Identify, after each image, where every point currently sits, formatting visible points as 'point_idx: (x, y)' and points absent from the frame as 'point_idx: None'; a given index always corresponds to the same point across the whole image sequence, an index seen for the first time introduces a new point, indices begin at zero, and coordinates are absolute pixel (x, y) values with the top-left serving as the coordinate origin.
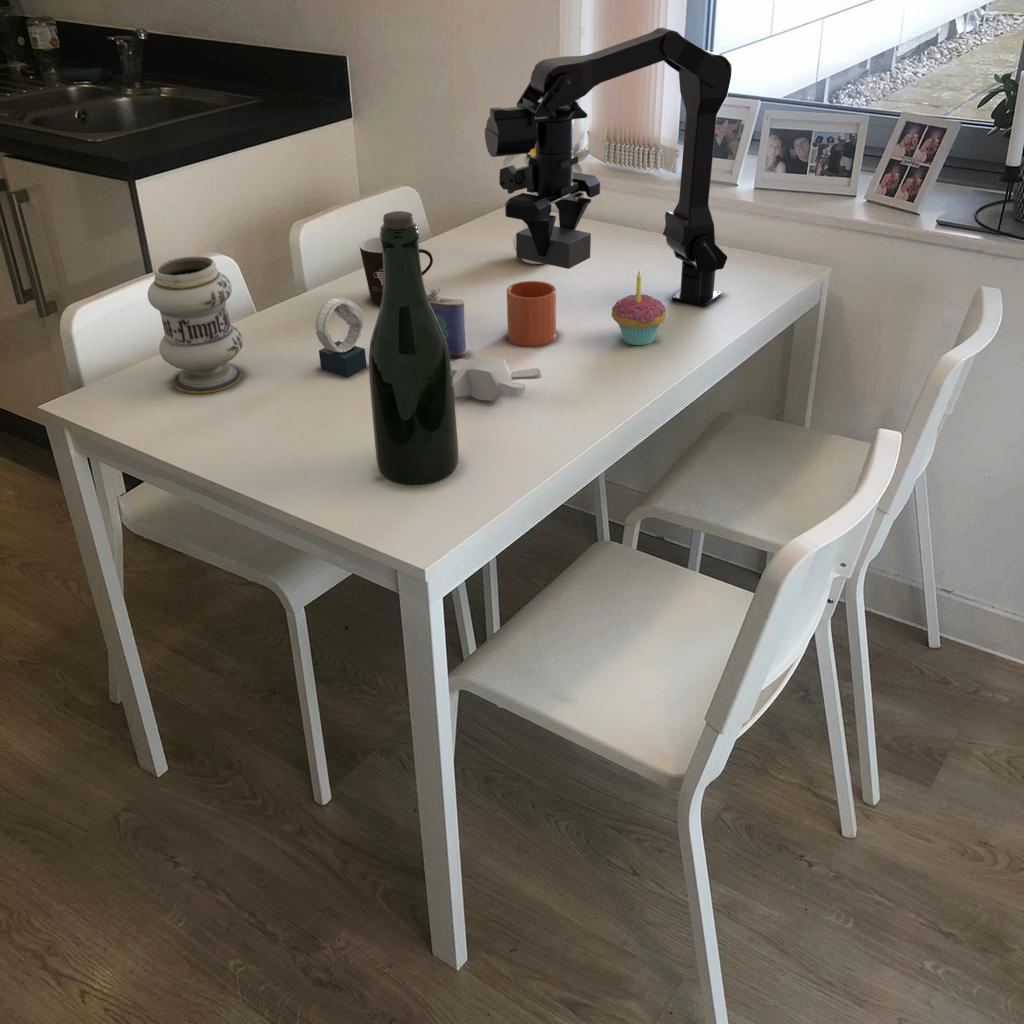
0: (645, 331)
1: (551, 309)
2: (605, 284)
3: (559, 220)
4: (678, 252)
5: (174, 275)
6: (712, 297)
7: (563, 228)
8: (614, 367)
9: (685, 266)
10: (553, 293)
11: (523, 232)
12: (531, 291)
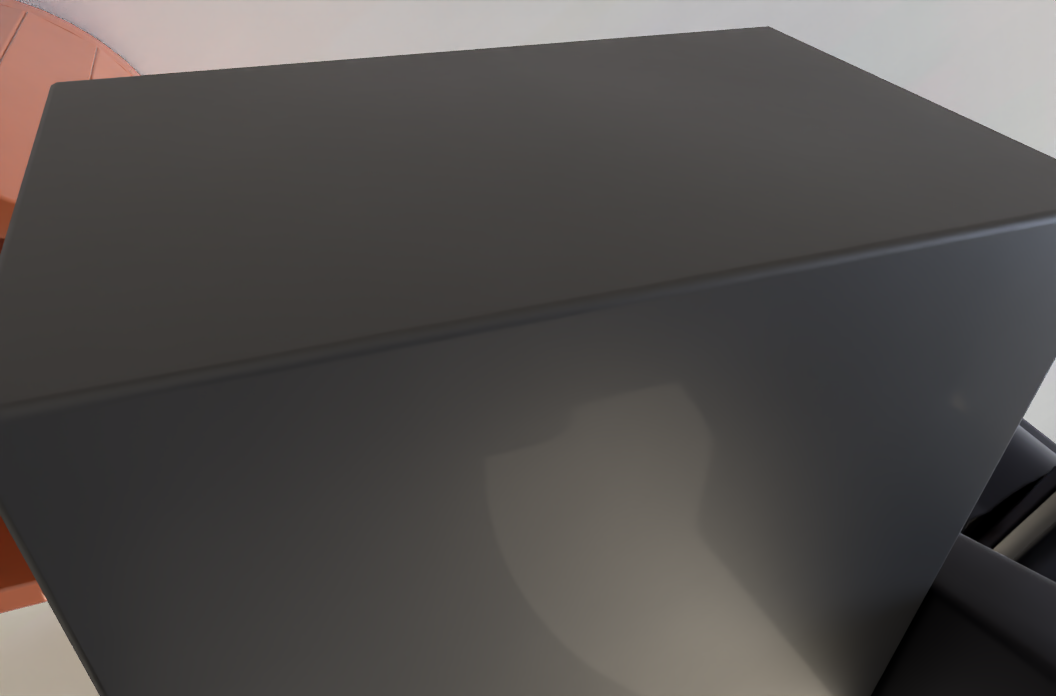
0: None
1: None
2: (1009, 5)
3: (1042, 667)
4: (1031, 560)
5: None
6: None
7: (865, 669)
8: (89, 682)
9: (973, 525)
10: (44, 599)
11: (231, 516)
12: None
